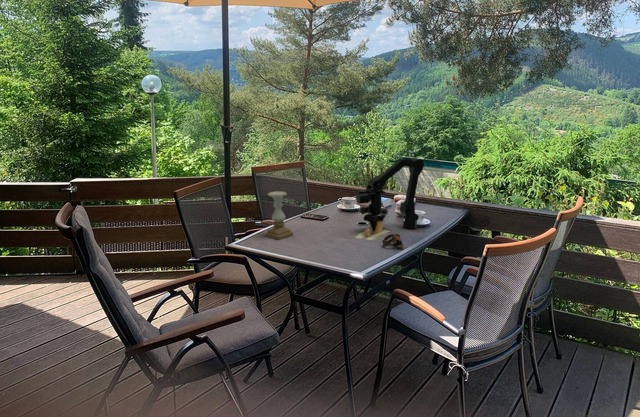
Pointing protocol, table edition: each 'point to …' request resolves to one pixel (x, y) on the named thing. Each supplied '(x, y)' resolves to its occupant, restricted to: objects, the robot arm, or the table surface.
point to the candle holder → (278, 218)
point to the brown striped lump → (392, 240)
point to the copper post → (367, 232)
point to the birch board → (371, 235)
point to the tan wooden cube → (377, 227)
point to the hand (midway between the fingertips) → (375, 230)
